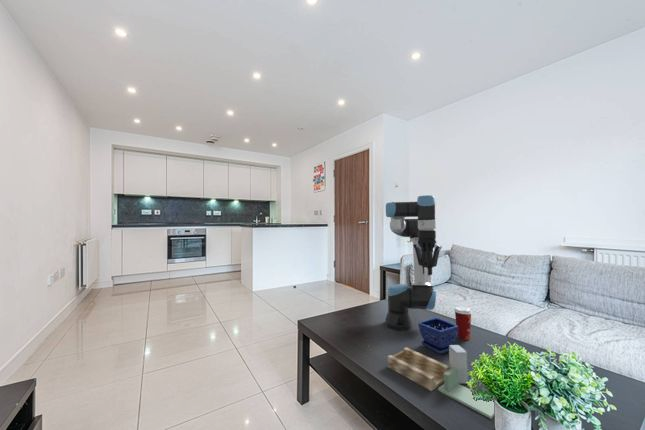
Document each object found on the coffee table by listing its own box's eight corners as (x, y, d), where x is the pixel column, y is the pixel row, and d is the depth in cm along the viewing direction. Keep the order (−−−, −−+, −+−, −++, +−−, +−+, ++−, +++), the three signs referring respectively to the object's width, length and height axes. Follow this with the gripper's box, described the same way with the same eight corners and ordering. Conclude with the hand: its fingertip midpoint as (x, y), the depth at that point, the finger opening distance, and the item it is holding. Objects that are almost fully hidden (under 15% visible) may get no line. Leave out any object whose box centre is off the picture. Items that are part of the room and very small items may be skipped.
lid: (438, 391, 97) (437, 371, 97) (449, 382, 102) (449, 363, 102) (491, 420, 83) (490, 397, 83) (502, 408, 88) (501, 386, 88)
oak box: (387, 367, 112) (387, 356, 112) (406, 357, 120) (406, 347, 120) (431, 391, 96) (431, 378, 96) (449, 378, 104) (449, 366, 104)
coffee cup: (474, 341, 134) (474, 311, 134) (457, 340, 136) (456, 311, 136) (469, 334, 142) (468, 306, 143) (452, 333, 144) (452, 305, 144)
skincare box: (449, 374, 106) (448, 344, 106) (459, 374, 106) (458, 344, 107) (457, 384, 100) (456, 352, 100) (468, 383, 100) (467, 352, 100)
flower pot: (440, 358, 119) (440, 331, 119) (417, 345, 131) (417, 321, 131) (459, 350, 125) (459, 325, 125) (436, 339, 137) (435, 316, 137)
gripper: (409, 229, 123) (410, 280, 122) (435, 230, 112) (436, 286, 112) (418, 229, 127) (419, 278, 127) (444, 229, 117) (446, 283, 116)
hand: (427, 281), depth 119 cm, fingers closed
